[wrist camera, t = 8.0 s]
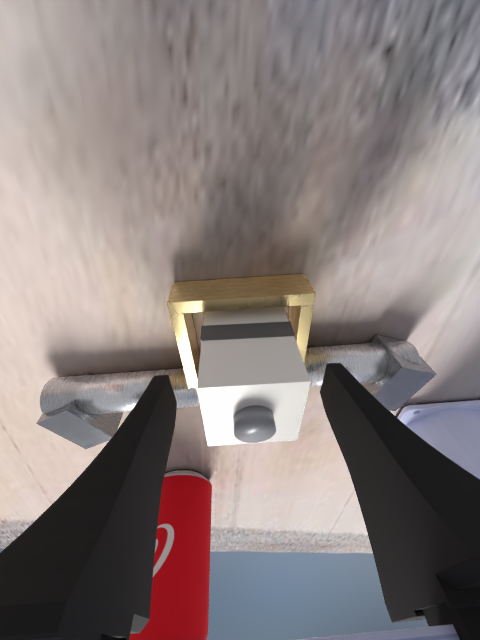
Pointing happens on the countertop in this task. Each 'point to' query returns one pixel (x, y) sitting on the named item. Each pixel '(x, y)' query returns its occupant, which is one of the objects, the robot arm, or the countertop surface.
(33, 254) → the countertop surface
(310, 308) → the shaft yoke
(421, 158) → the countertop surface
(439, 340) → the countertop surface
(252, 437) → the white knobbed block
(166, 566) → the beverage can
